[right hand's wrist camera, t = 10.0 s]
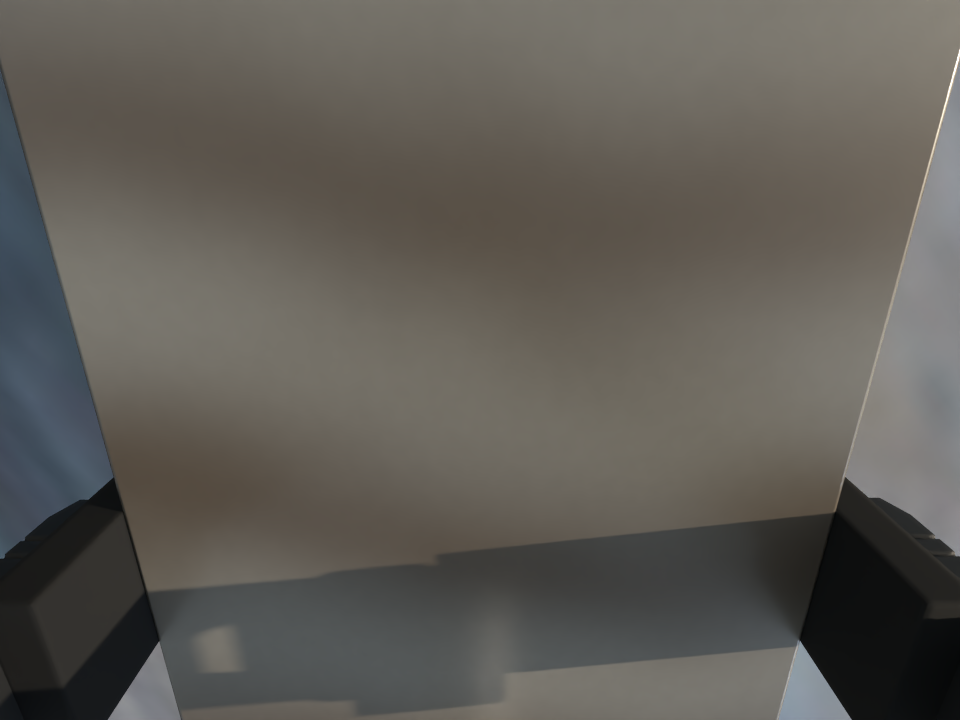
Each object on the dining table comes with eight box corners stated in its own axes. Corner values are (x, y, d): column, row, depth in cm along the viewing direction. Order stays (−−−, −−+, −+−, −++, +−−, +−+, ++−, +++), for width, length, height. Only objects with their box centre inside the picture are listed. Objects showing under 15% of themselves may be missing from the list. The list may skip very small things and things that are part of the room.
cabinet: (195, -392, 11) (-514, -1761, 3) (761, -392, 11) (1468, -1762, 3) (311, 495, 18) (186, 746, 10) (648, 494, 18) (773, 746, 10)
